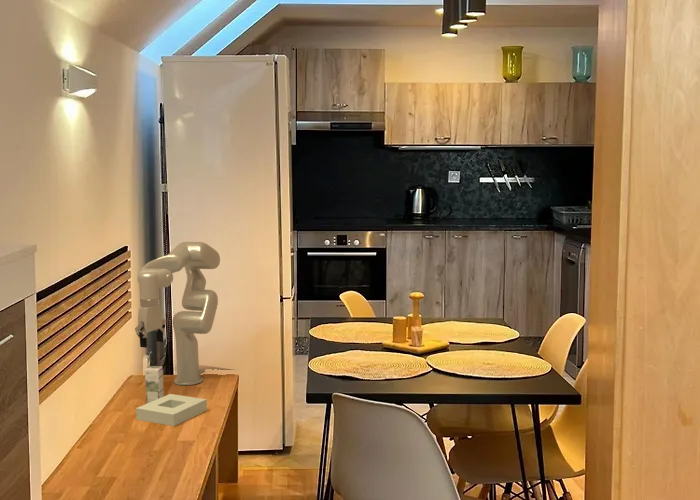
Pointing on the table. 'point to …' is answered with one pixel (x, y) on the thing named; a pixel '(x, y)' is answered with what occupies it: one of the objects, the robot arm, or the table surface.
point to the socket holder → (171, 409)
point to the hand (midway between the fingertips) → (152, 344)
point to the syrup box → (154, 383)
